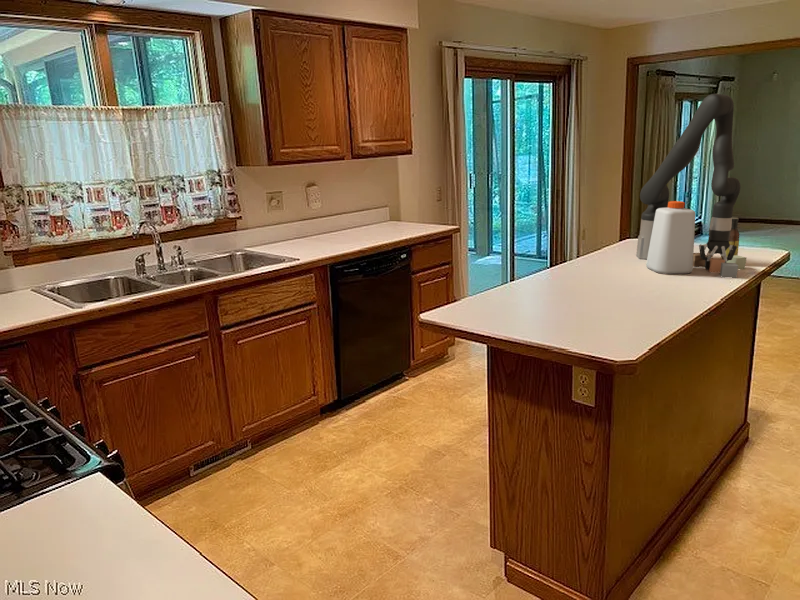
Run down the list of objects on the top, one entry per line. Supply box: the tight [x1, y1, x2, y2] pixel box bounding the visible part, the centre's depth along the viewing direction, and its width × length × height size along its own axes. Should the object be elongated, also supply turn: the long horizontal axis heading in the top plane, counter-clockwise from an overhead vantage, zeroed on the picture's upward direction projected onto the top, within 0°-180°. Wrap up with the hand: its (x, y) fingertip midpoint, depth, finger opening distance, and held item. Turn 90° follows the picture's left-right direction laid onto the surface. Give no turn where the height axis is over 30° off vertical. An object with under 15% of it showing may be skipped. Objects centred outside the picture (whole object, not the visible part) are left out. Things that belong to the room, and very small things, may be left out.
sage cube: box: [726, 254, 747, 270], centre depth 244 cm, size 5×5×5 cm
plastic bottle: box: [645, 200, 696, 275], centre depth 238 cm, size 15×15×28 cm
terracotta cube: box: [707, 257, 725, 273], centre depth 239 cm, size 5×5×5 cm
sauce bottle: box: [726, 216, 740, 257], centre depth 249 cm, size 7×6×20 cm
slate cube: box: [719, 262, 739, 279], centre depth 231 cm, size 5×5×5 cm
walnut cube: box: [693, 252, 707, 268], centre depth 250 cm, size 5×5×5 cm
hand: (714, 269), depth 240 cm, fingers closed on terracotta cube, 5 cm apart
